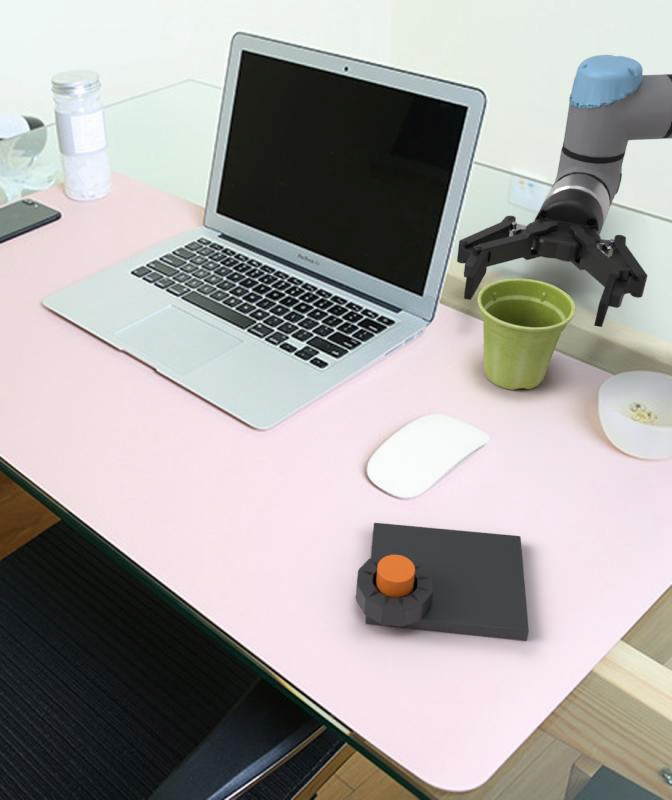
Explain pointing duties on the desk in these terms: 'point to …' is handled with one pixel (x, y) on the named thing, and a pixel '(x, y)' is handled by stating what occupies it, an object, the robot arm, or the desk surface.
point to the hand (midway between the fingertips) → (532, 301)
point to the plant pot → (521, 329)
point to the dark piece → (449, 582)
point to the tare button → (395, 576)
